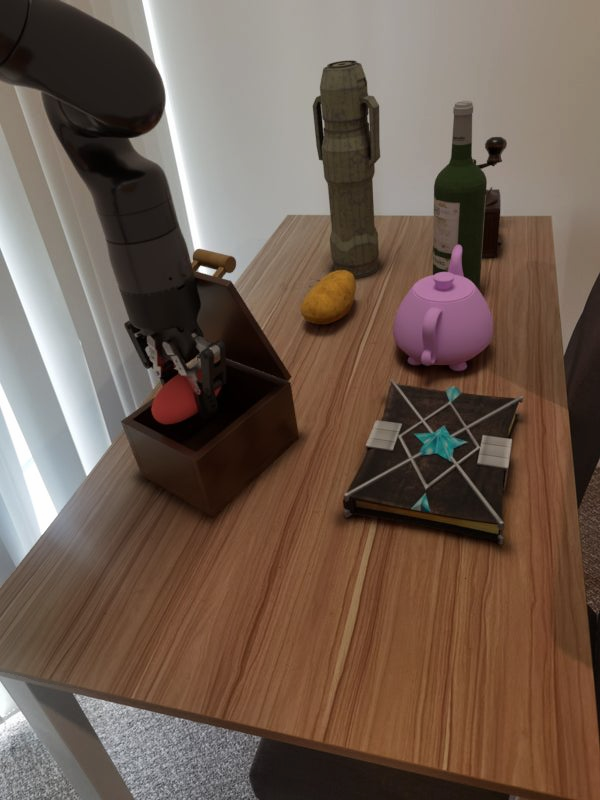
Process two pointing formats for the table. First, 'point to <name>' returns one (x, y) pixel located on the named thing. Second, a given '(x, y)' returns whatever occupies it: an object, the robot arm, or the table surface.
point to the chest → (217, 440)
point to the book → (437, 461)
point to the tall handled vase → (349, 164)
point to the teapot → (444, 319)
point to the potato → (330, 298)
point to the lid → (232, 317)
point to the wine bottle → (460, 202)
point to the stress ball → (176, 400)
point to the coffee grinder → (492, 201)
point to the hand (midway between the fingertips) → (192, 406)
